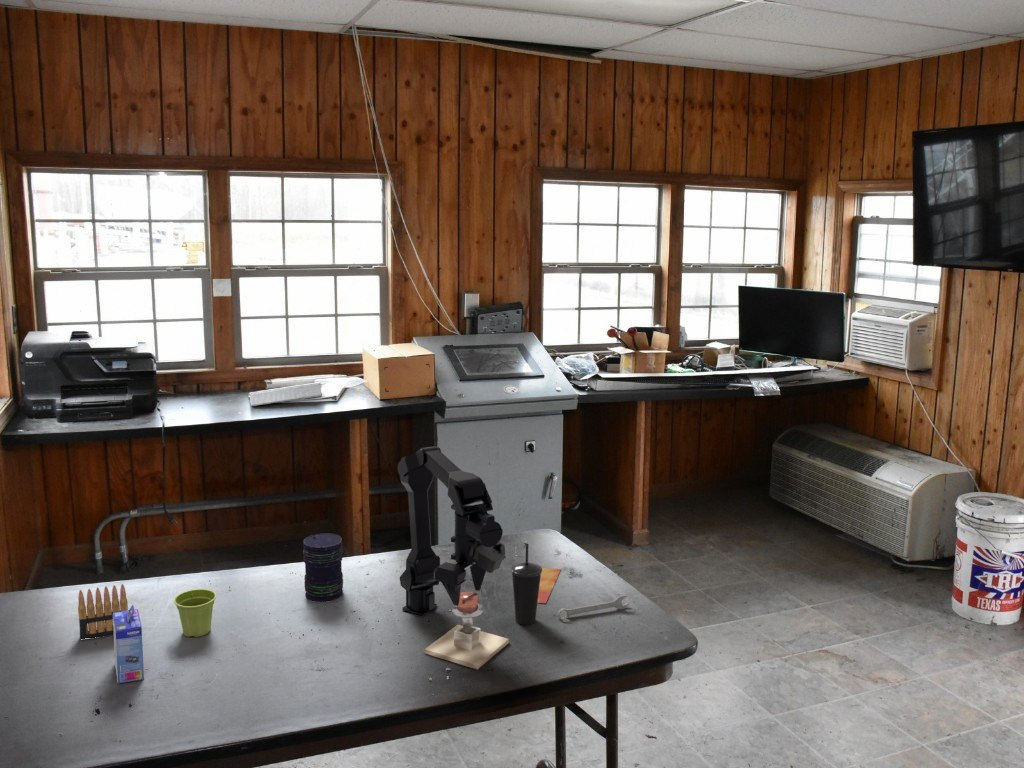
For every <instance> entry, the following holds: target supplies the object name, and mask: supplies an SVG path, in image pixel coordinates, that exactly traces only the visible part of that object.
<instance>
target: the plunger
mask: <svg viewBox="0 0 1024 768" xmlns="http://www.w3.org/2000/svg"><path fill="white" fill-rule="evenodd" d="M451 609H452V610H451V612H452V614H453V615H455V617H459V618H461V620H462V621H461V623H462V624H461V626H463V627H467V628H468V627H472V626H473V625H474V623H473V622H474V621H473V620H474V619H473V618H477V617H479V616H481V615H482V614H483V611H484V608H483V605H481V603H479V594H478V593H476V592H474V591H462V592H461V591H460V600H459V605H458V606H456V605H454V604H453V606H452V607H451Z"/></svg>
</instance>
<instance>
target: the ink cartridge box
mask: <svg viewBox="0 0 1024 768" xmlns="http://www.w3.org/2000/svg"><path fill="white" fill-rule="evenodd" d="M113 629H114V635H113V652H114V655H113V656H114V667H115V673H116V681H117V684H122V683H123V684H124V683H128V682H137V681H143V680H144V679H145V670H144V669H145V668H144V652H143V651H144V649H143V646H144V645H143V628H142V622H141V616H140V612H139V609H137V608H136V609H135V605H134V604H132V605H131V606H130V608H128V610H127V611H121V612H116V613H113Z"/></svg>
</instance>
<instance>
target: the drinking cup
mask: <svg viewBox="0 0 1024 768" xmlns="http://www.w3.org/2000/svg"><path fill="white" fill-rule="evenodd" d="M542 568H543V567H542V566H541V565H540V564H537V563H535V562H531V561H529V543H525V561H523V562H517V563H515V564H513V565H512V566H511V567H510V572H511V575H512V576H511V579H512V590H513V602H514V615H515V622H516V623H517V624H519V625H522V626H529V625H533V624H534V623H535V622H536V618H537V609H538V603H537V602H538V594H539V585H540V577H541V573H542Z"/></svg>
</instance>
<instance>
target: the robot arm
mask: <svg viewBox="0 0 1024 768" xmlns="http://www.w3.org/2000/svg"><path fill="white" fill-rule="evenodd" d="M397 472H398V475H399V479H400V483H401V484H402V486H403V488H404V489H405V490H406V491H407V499H408V514H409V528H410V541H411V550H410V552H409V554H408V556H407V558H406V560H405V569H404V571H403V572H402V573H401V575H400V576H399V583H400V587H402V588H403V589H404V590H405V605H404V606H403V607H402V611H405V612H409V613H412V614H416V615H420V616H425V615H426V614H428V613H429V612H431V611H432V610H434V609H436V608H437V607H438V605H437V603H436V599H435V598H436V596H435V594H436V593H435V592H434V586H439V584H440V583H441V585H442V586H443V587H444V589H445V591H446V592H447V594H448V597H449V598H450V600H451V602H452V605H453V606H454V605H456V606H458V605H459V600H460V593H461V590H462V589H461V588H462V585H463V584H464V583H465V582H466V581H467V579H466V576H467V569H468V568H469V569H470V574H471V578H472V583H473V586H474V589H475V591H481V588H482V585H483V582H484V579H485V576H486V573H489V574H491V573H492V574H493V573H494V571H496V570H498V569H500V568H501V565H502V562H503V561H504V560H506V546H505V544H504V543H502V542H500V541H501V539H502V537H503V528H502V525H501V524H500V523H499V522H498V521H496V520H495V519H496V518H495V514H494V515H493V514H492V513H491V514H490V513H488V512H490V511H494V507H493V504H492V503H493V500H492V498H491V496H490V494H489V492H488V489H487V486H486V484H485V482H484V481H483V479H482V478H481V477H480V476H478V475H476V474H474V473H473V472H469V471H468V472H467V471H463V470H462V469H460V468H459V466H457V465H456V464H455V463H454V462H453V461H452V460H451V459H449V457H447V456H446V455H445V454H444V453H442V449H441V448H440V447H439V446H436V445H434V446H428V447H421V448H420V449H417V451H416V452H413V453H411V454H409V455H408V456H407V455H406V456H404V457H402V458H401V459H400V461H399V462H398V463H397ZM434 476H435V477H436V478H437V479H438V480H439V482H441V483H442V484H443V485H445V487H446V488H447V496H448V497H449V499H450V501H451V502H452V504H451V505H450V509H451V510H453V511H454V535H453V536H451V537H450V542H451V543H454V552H453V553H451V554H450V560H454V561H455V562H456V563H453V562H448V561H445V562H443V563H442V564H441V557H440V556H439V555H437V554H436V552H435V551H434V550H433V548H432V538H431V537H432V536H431V535H432V534H431V523H430V507H429V493H428V492H429V490H430V487H431V485H432V483H433V481H434ZM481 502H482V503H481ZM476 503H477V504H476Z"/></svg>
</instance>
